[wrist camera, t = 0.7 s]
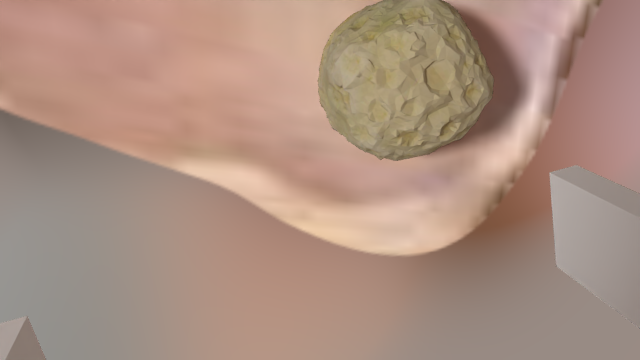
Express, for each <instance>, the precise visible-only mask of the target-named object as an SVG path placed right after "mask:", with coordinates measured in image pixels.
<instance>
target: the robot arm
mask: <svg viewBox="0 0 640 360" xmlns="http://www.w3.org/2000/svg"><path fill="white" fill-rule="evenodd" d="M550 187H551V201H552V215H553V229H554V242H555V257H556V266H557V267H558V268H559V269H561V270H562V271H564V272H565V273H566V274H567V275H569V276H570V277H571V278H573V279H574V280H575V281H577V282H578V283H579V284H581V285H582V286H583V287H585V288H586V289H587V290H589V291H590V292H591V293H593V294H594V295H595V296H597V297H598V298H599V299H601V300H602V301H604V302H605V303H606V304H607V305H609V306H610V307H611V308H613V309H614V310H615V311H617V312H618V313H619V314H621V315H622V316H624V317H625V318H626V319H627V320H629V321H630V322H631V323H633V324H634V325H635V326H637V327H638V328H639V329H640V194H639V193H637V192H635V191H633V190H631V189H628V188H626V187H624V186H622V185H619V184H617V183H615V182H613V181H610V180H608V179H606V178H604V177H602V176H599V175H597V174H595V173H593V172H590V171H588V170H586V169H584V168H581V167H579V166H577V165H575V166H572V167H568V168H564V169H561V170H557V171H553V172H550ZM0 360H46V358H45V356H44V354H43V351H42V350H41V347H40V345H39V342H38V340H37V337H36V335H35V333H34V331H33V328H32V326H31V323H30V321H29V319H28V316H25V317H21V318H18V319H14V320H10V321H7V322H3V323H0Z"/></svg>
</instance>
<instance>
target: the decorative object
mask: <svg viewBox="0 0 640 360" xmlns="http://www.w3.org/2000/svg"><path fill="white" fill-rule="evenodd" d="M493 84H494V78H493V76H492V75H491V72H490V71H489V68H488V67H487V64H486V60H485V58H484V56H483V55H482V53H481V51H480V49H479V46H478V42H477V40H475V39H474V38H473V37H472V35H471V31H470V30H469V29H468V28H467V25H466V23H465V22H464V21H463V19H462V18H461V16H460V14H459V13H458V11H457V10H456V9H455V8H454V7H453V6H451V5H450V4H449V3H447V2H445V1H442V0H383V1H381V2H378V3H376V4H374V5H372V6H366V7H365V8H364V9H362V10H361V11H359V12H356V13H354V14H352V15H351V16H350V17H348V18H347V19H346V20H345V21H344V22H343V23H342V24H341V25H340V26H338V27H337V28H336V29H335V30H334V31H333V33H332V34H331V35H330V38H329V40H328V42H327V44H326V46H325V48H324V51H323V54H322V59H321V64H320V68H319V79H318V87H319V89H318V93H319V96H320V104H321V106H322V107H323V108H324V110H325V111H326V114H327V118H328V119H329V122H330V124H331V126H332V127H333V129H334V130H336V131H338V132H339V133H340V134H341V135H343V136H345V137H346V139H347V141H348V142H351V143H352V144H353V145H355V146H356V147H358V148H359V149H361V150H363V151H364V152H368V153H371V154H373V155H375V156H376V157H377V158H379V159H380V160H382V159H383V158H386V159H390V160H394V161H398V160H403V159H408V158H413V157H417V156H421V155H426V154H430V153H432V152H434V151H435V150H437V149H438V148H439V147H441V146H443V145H447V144H449V143H451V142H453V141H455V140H460V139H461V138H462V137H463V136H464V135H466V133H467V132H468V131H469V130H470V128H471V127H472V126H473V125H474V124H475V123H476V122H477V121H478V118H479V116H480V113H481V111H482V110H483V108H484V107H485V105H486V104H487V103H488V102H489V101H490V100H491V99H492V94H493Z"/></svg>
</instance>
